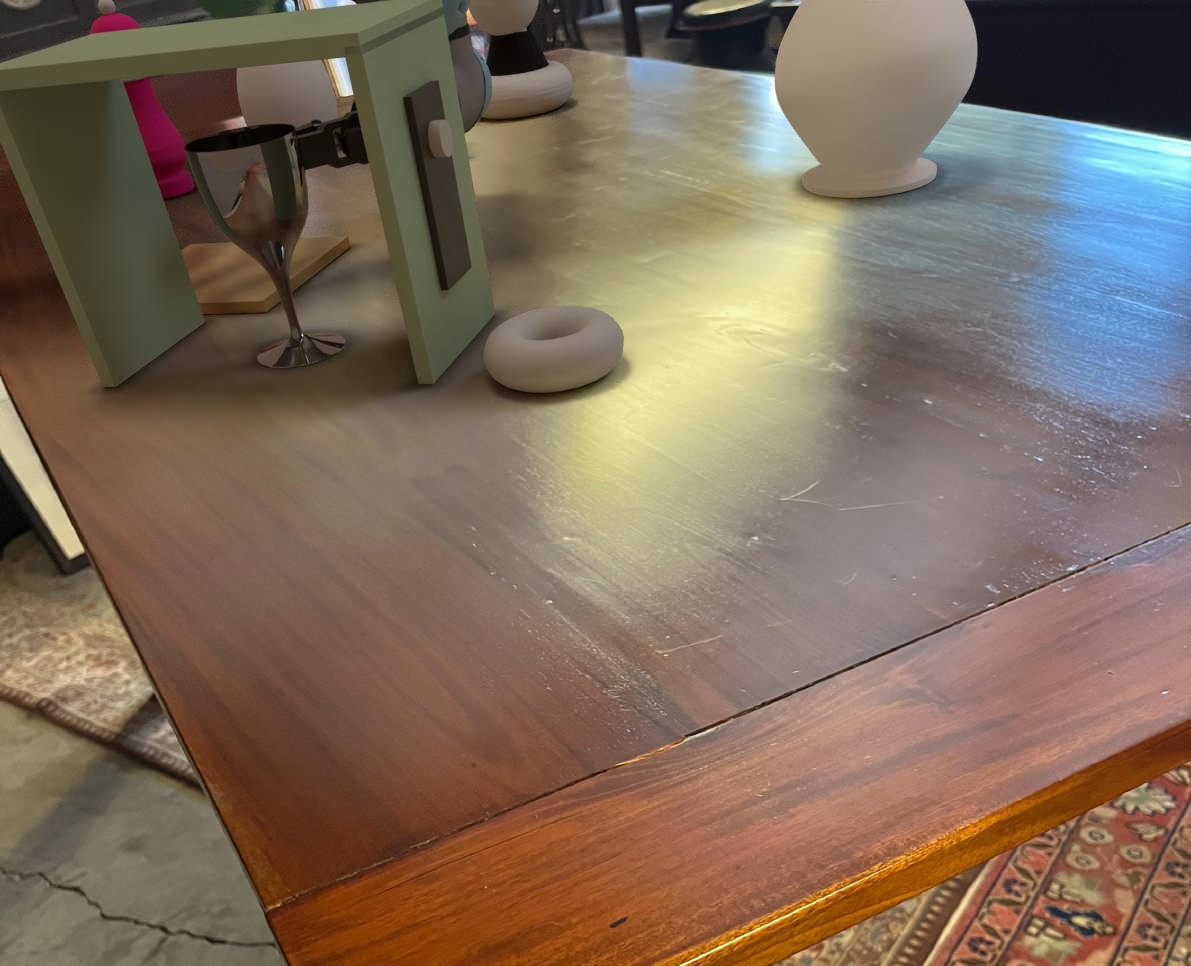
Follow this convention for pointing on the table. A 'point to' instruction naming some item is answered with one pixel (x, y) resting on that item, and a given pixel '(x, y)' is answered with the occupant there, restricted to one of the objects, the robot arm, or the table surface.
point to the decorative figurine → (518, 61)
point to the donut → (553, 349)
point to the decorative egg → (286, 93)
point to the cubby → (136, 207)
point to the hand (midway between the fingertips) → (302, 182)
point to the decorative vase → (873, 88)
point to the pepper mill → (150, 116)
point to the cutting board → (251, 273)
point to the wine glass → (262, 216)
